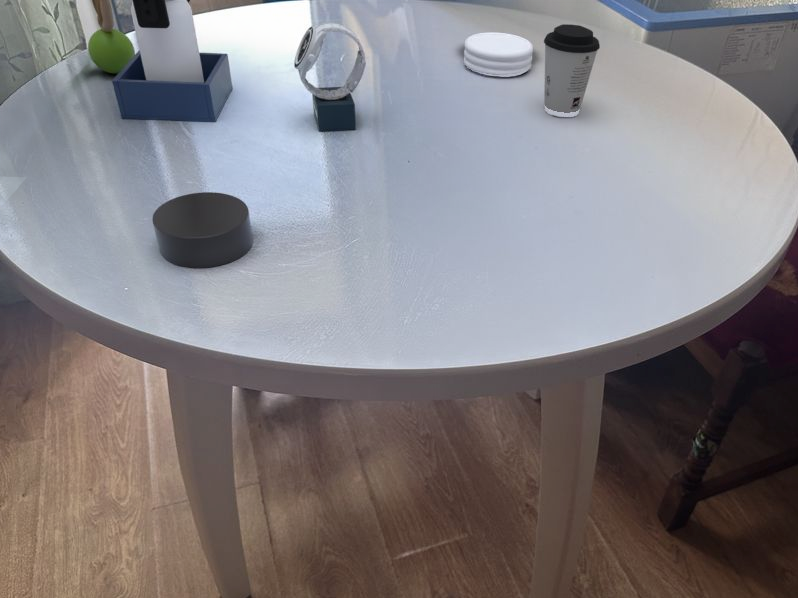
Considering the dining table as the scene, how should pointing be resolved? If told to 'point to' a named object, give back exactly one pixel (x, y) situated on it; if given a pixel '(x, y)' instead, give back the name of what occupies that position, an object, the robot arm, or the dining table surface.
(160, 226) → the stand
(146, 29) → the can
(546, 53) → the coffee cup
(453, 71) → the dining table surface
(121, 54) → the green maraca
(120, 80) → the blue open box
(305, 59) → the watch
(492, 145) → the dining table surface
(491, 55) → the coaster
